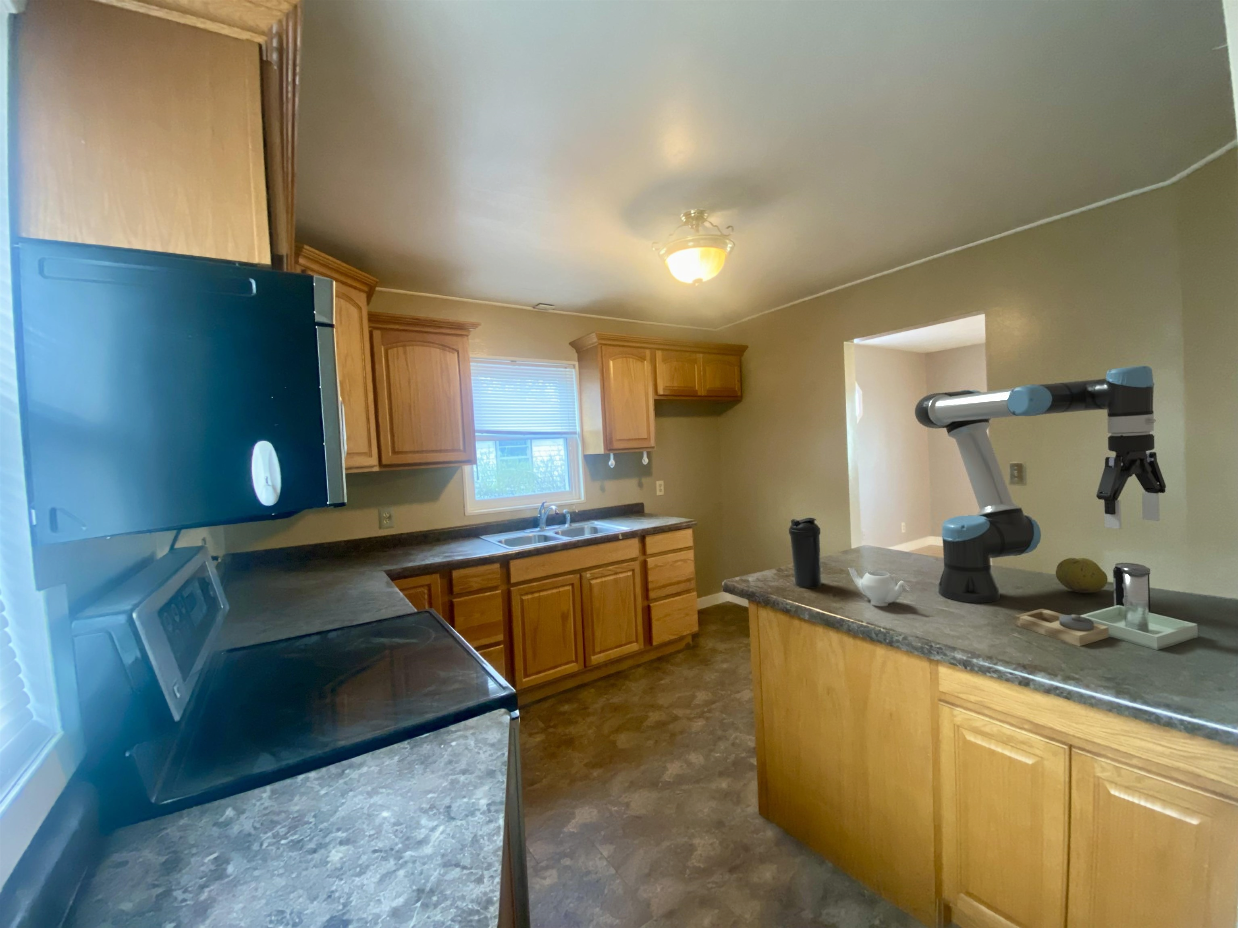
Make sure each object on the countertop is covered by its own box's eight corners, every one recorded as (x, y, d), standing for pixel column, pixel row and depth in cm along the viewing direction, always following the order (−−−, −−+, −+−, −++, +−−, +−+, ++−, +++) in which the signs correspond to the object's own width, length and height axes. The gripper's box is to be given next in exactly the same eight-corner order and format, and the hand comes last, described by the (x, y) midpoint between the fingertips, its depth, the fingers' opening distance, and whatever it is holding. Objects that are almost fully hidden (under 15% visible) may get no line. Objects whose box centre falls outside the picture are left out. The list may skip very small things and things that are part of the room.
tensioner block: (1015, 625, 127) (1014, 606, 127) (1042, 617, 130) (1041, 599, 130) (1079, 646, 114) (1078, 624, 113) (1108, 637, 116) (1108, 616, 116)
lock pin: (1117, 627, 119) (1115, 567, 118) (1130, 623, 121) (1129, 563, 120) (1143, 635, 115) (1142, 571, 114) (1156, 631, 116) (1155, 568, 115)
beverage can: (1157, 615, 126) (1156, 568, 125) (1127, 615, 127) (1125, 569, 126) (1136, 605, 132) (1135, 561, 131) (1107, 606, 133) (1106, 562, 133)
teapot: (902, 616, 138) (900, 584, 138) (840, 598, 156) (838, 569, 156) (922, 608, 143) (920, 576, 142) (860, 591, 161) (858, 563, 160)
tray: (1079, 627, 123) (1079, 615, 122) (1118, 616, 127) (1118, 605, 127) (1157, 650, 109) (1156, 636, 109) (1197, 636, 113) (1197, 624, 113)
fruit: (1050, 593, 145) (1049, 560, 145) (1062, 583, 152) (1061, 551, 152) (1103, 602, 136) (1101, 566, 136) (1112, 591, 143) (1111, 557, 143)
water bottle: (828, 587, 167) (824, 520, 166) (798, 589, 168) (793, 522, 166) (817, 578, 178) (812, 515, 176) (788, 581, 178) (784, 517, 176)
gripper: (1114, 438, 108) (1117, 534, 109) (1186, 429, 115) (1187, 519, 117) (1074, 438, 115) (1077, 528, 117) (1144, 429, 122) (1145, 514, 124)
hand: (1132, 524), depth 117 cm, fingers open, 13 cm apart
